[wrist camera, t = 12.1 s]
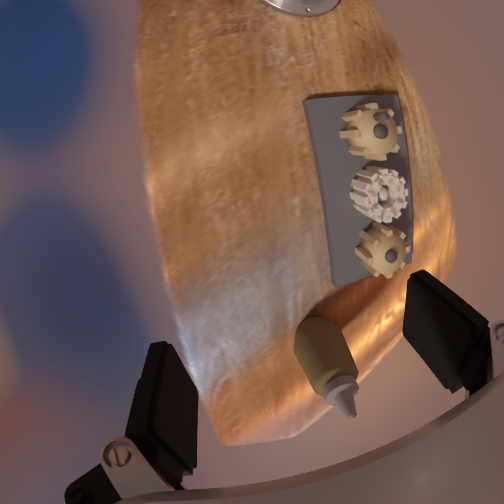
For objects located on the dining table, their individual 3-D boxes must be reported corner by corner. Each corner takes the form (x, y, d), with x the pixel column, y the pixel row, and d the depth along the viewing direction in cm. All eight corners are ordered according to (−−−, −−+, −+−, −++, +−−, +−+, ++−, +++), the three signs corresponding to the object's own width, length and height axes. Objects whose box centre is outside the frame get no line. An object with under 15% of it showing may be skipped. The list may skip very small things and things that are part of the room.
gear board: (302, 101, 30) (323, 90, 23) (391, 96, 30) (424, 90, 23) (332, 282, 40) (352, 309, 33) (406, 259, 40) (433, 279, 33)
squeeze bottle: (332, 302, 41) (384, 385, 24) (337, 338, 44) (380, 417, 28) (283, 319, 41) (316, 412, 25) (293, 354, 44) (322, 440, 28)
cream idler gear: (346, 169, 32) (361, 173, 28) (388, 162, 32) (405, 166, 28) (352, 219, 35) (366, 228, 31) (393, 209, 35) (409, 217, 31)
